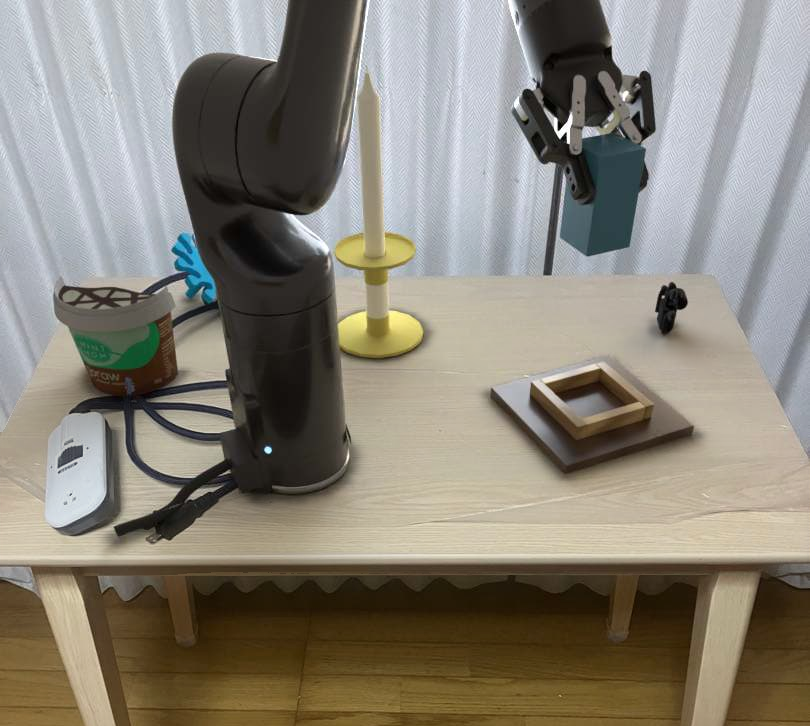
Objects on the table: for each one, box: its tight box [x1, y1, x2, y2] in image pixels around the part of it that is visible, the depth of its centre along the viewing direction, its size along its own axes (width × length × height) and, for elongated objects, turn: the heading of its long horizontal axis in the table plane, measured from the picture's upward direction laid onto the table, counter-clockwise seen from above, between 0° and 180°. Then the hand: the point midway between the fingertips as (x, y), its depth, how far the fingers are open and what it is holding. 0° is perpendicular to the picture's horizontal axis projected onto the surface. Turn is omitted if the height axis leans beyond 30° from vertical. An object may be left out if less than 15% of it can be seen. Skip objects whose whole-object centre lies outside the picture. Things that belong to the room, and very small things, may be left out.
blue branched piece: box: [170, 232, 216, 304], centre depth 101 cm, size 11×6×10 cm
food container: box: [52, 276, 179, 397], centre depth 85 cm, size 12×6×10 cm, turn 77°
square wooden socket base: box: [490, 354, 695, 475], centre depth 83 cm, size 14×14×2 cm
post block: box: [559, 133, 647, 257], centre depth 79 cm, size 5×5×9 cm
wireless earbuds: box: [654, 281, 689, 336], centre depth 94 cm, size 7×2×5 cm, turn 176°
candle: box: [333, 64, 424, 359], centre depth 86 cm, size 10×10×27 cm
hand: (613, 195), depth 78 cm, fingers closed on post block, 4 cm apart
